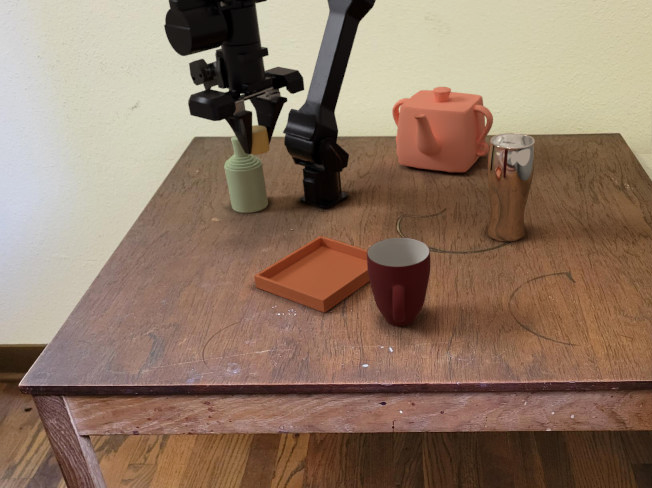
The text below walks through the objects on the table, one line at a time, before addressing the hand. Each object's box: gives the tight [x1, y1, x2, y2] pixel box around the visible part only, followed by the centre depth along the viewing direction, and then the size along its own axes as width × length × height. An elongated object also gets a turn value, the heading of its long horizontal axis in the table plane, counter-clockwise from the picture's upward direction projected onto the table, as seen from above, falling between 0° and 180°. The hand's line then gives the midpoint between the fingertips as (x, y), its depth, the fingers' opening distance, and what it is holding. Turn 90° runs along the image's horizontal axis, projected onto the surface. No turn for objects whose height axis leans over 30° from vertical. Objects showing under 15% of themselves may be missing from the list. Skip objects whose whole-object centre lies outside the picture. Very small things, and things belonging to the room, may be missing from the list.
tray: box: [253, 235, 370, 313], centre depth 105 cm, size 15×13×2 cm
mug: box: [367, 237, 431, 327], centre depth 92 cm, size 11×8×10 cm
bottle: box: [223, 135, 269, 214], centre depth 123 cm, size 6×6×12 cm
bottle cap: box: [251, 124, 270, 156], centre depth 111 cm, size 4×4×3 cm
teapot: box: [391, 86, 494, 174], centre depth 133 cm, size 20×19×14 cm
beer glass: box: [486, 132, 536, 243], centre depth 110 cm, size 7×7×15 cm
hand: (257, 149), depth 112 cm, fingers closed on bottle cap, 3 cm apart
